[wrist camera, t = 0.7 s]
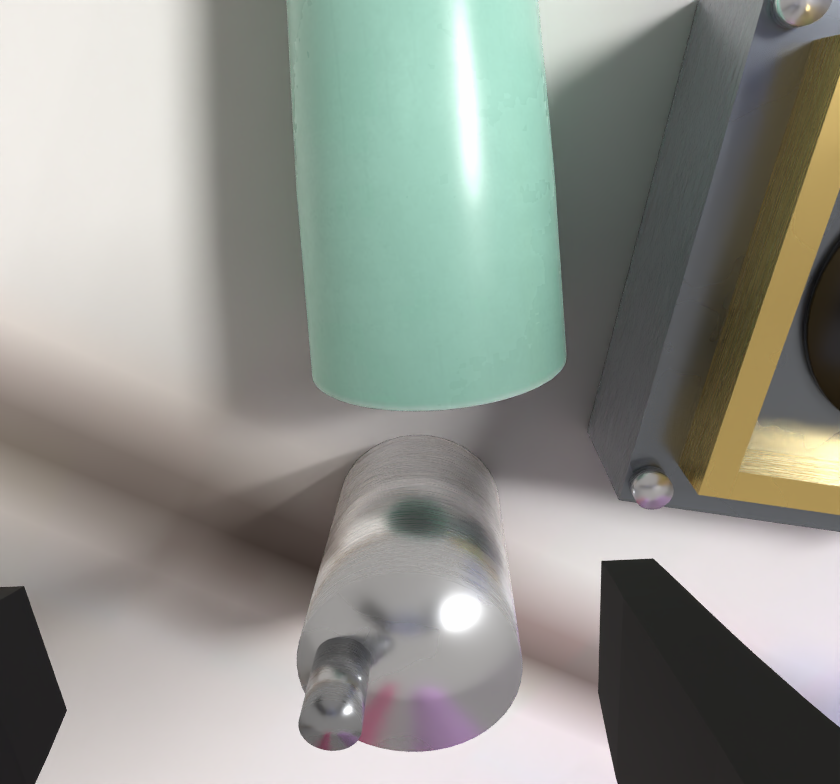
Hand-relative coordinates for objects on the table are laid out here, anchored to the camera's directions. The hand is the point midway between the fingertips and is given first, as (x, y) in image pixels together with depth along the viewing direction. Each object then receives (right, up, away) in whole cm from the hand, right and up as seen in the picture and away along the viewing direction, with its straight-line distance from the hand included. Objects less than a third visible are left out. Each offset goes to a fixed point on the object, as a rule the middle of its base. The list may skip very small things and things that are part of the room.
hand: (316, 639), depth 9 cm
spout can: (+1, 0, +10) cm, 10 cm away
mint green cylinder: (+1, +17, +4) cm, 18 cm away
